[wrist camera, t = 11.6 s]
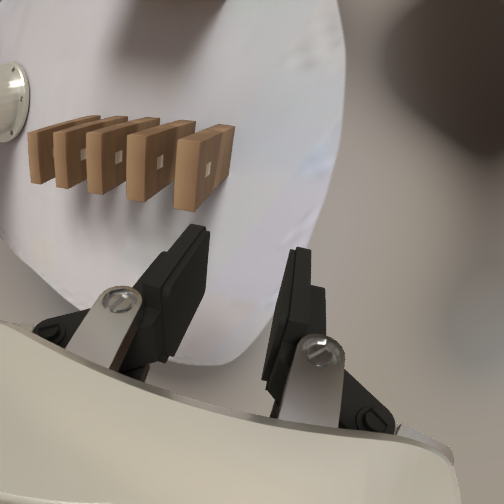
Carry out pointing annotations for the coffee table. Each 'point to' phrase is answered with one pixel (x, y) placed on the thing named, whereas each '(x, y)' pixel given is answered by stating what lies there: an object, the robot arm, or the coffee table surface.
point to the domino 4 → (153, 158)
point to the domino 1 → (47, 149)
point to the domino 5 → (201, 165)
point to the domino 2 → (76, 150)
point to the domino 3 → (111, 153)
